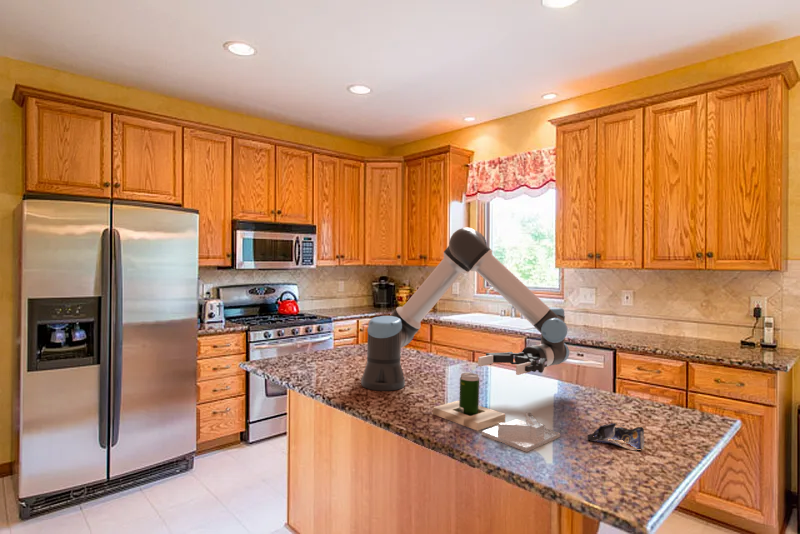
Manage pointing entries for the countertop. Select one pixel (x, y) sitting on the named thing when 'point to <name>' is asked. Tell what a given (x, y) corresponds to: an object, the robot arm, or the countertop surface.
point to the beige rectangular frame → (475, 421)
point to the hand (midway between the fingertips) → (497, 365)
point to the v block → (521, 433)
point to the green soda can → (469, 394)
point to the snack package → (619, 435)
